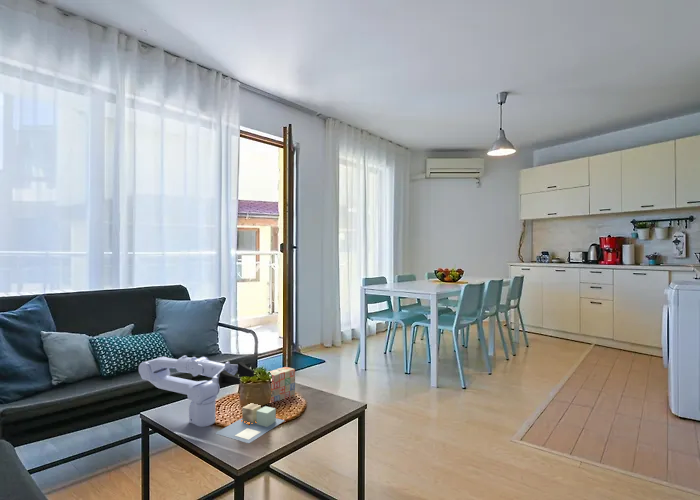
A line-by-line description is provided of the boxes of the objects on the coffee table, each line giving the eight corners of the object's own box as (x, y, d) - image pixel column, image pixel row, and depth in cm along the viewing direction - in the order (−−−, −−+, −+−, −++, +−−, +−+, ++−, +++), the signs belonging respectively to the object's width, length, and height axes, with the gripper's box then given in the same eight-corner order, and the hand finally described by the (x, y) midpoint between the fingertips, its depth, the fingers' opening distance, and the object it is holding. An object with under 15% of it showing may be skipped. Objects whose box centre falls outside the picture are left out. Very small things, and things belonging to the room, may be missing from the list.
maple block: (242, 420, 152) (242, 407, 152) (251, 415, 157) (251, 402, 157) (252, 423, 150) (252, 409, 150) (261, 418, 154) (261, 405, 154)
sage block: (256, 424, 149) (256, 410, 149) (265, 419, 154) (265, 406, 153) (267, 426, 147) (267, 413, 147) (275, 421, 151) (275, 408, 151)
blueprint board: (214, 435, 142) (214, 432, 142) (252, 414, 160) (252, 412, 160) (249, 445, 135) (249, 443, 135) (285, 422, 152) (285, 420, 152)
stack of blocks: (257, 410, 164) (256, 381, 163) (247, 407, 168) (247, 377, 167) (295, 395, 180) (295, 368, 180) (286, 392, 184) (285, 365, 184)
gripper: (202, 366, 141) (232, 373, 136) (230, 354, 155) (259, 360, 149) (202, 385, 142) (232, 393, 136) (231, 371, 155) (259, 378, 149)
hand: (246, 377), depth 143 cm, fingers open, 7 cm apart
